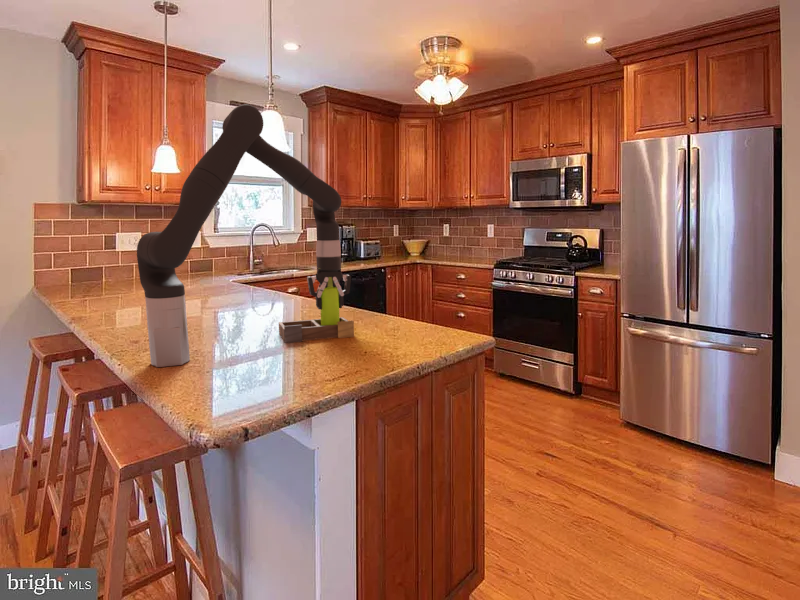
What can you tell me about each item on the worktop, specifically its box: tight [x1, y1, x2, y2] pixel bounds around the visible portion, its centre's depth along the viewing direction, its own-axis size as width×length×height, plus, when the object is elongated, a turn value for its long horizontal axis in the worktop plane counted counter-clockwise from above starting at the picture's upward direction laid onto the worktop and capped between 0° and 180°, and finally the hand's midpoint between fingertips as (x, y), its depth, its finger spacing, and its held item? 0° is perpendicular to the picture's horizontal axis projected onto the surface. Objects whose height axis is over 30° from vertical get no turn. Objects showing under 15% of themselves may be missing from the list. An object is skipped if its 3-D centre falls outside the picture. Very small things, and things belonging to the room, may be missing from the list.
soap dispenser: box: [319, 268, 340, 326], centre depth 162 cm, size 6×7×20 cm
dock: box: [278, 316, 355, 344], centre depth 162 cm, size 13×21×5 cm, turn 111°
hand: (330, 308), depth 163 cm, fingers closed on soap dispenser, 6 cm apart
